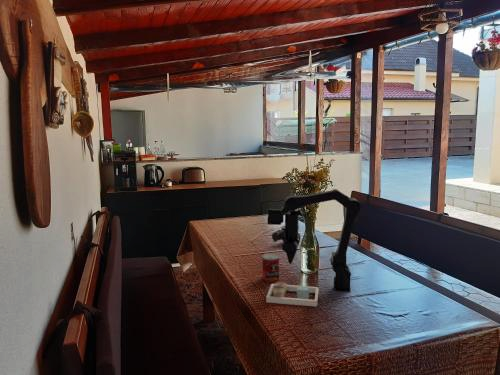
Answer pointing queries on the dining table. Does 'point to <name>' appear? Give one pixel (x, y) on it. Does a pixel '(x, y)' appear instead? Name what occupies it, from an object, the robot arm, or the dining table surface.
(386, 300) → the dining table surface
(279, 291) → the maple block
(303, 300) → the tray
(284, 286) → the maple block
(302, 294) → the block teal
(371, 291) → the dining table surface
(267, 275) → the canned food
